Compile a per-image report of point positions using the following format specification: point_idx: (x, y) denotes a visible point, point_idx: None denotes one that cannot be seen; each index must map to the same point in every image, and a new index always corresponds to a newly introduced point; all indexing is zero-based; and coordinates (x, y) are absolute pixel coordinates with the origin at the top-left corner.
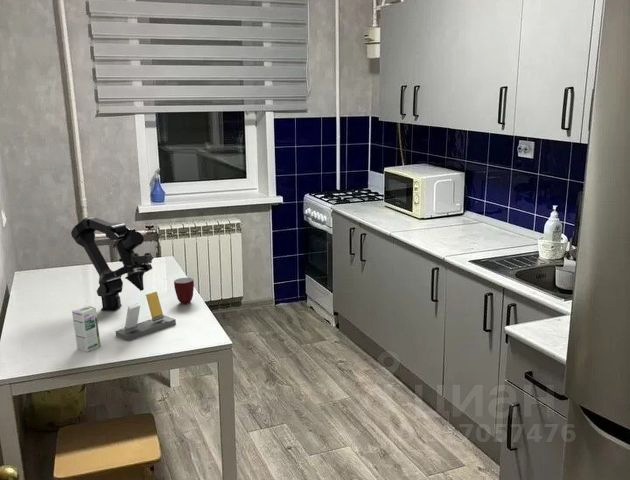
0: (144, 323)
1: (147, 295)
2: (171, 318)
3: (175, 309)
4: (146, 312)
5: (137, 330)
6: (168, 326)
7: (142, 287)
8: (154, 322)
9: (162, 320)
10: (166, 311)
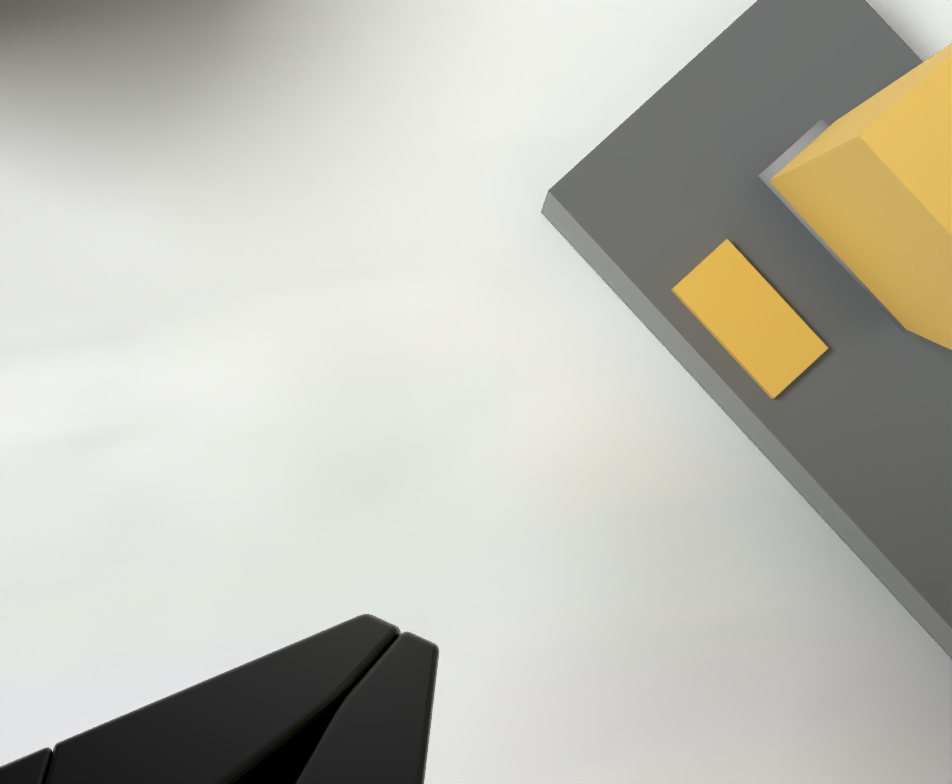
0: (927, 462)
1: None
2: (762, 21)
3: (79, 63)
4: (129, 539)
5: None
6: None
7: (390, 674)
8: None
9: None
10: (149, 204)
